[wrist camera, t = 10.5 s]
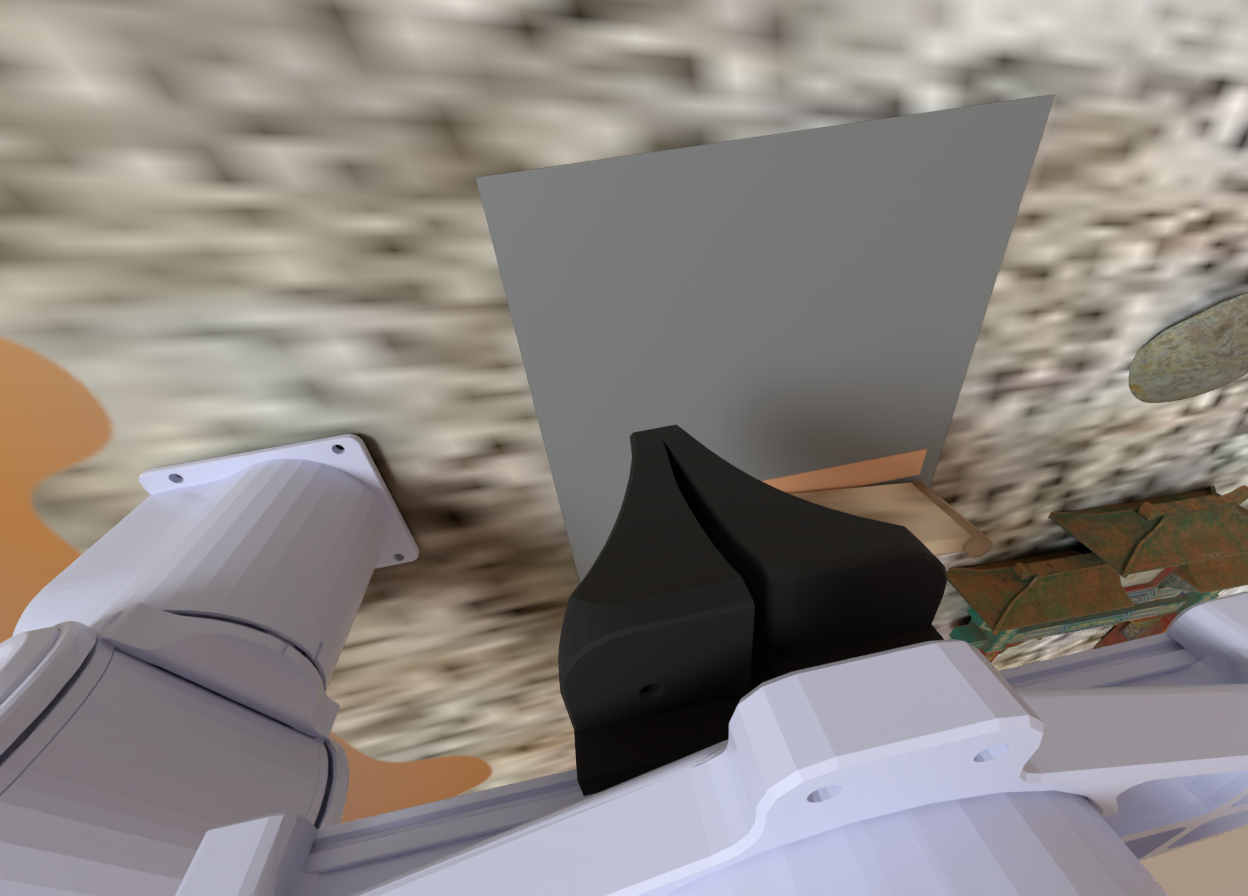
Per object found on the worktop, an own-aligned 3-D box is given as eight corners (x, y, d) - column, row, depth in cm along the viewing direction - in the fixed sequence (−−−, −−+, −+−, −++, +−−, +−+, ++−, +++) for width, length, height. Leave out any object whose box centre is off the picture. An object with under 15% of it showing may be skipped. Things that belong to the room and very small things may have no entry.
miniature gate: (889, 765, 44) (1051, 564, 26) (857, 705, 48) (975, 497, 30) (1135, 712, 47) (1438, 496, 28) (1083, 660, 51) (1317, 444, 33)
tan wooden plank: (724, 515, 26) (760, 583, 22) (727, 498, 25) (764, 565, 21) (918, 495, 28) (985, 556, 23) (925, 479, 27) (996, 539, 23)
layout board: (603, 672, 34) (615, 761, 29) (477, 177, 16) (450, 186, 11) (882, 611, 35) (939, 686, 30) (1040, 96, 18) (1234, 72, 13)
